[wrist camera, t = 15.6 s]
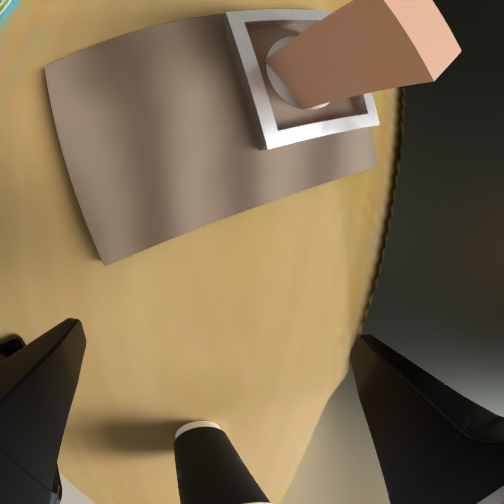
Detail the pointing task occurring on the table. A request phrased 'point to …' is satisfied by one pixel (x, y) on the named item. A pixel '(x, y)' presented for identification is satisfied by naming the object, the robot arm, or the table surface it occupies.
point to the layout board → (195, 127)
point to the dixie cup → (212, 468)
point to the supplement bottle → (4, 5)
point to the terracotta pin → (365, 51)
